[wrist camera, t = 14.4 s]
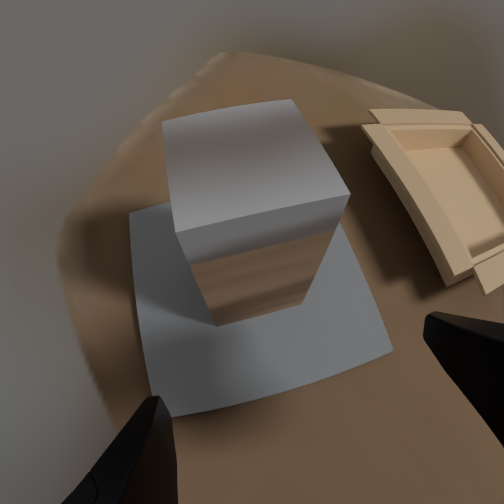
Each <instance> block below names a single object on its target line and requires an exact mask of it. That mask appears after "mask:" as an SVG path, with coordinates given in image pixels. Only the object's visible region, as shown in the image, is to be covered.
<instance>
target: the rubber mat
mask: <svg viewBox="0 0 504 504" xmlns="http://www.w3.org/2000/svg"><path fill="white" fill-rule="evenodd" d="M129 226H130V244H131V257H132V269H133V279H134V289H135V298H136V306H137V313H138V321H139V327H140V334H141V340H142V346H143V352H144V358H145V363H146V368H147V374H148V379H149V383H150V388H151V393H152V396H156V395H159V396H161V398H162V399H163V401H164V403H165V405H166V407H167V409H168V411H169V412H170V415H171V417H176V416H182V415H188V414H194V413H199V412H204V411H209V410H214V409H219V408H223V407H228V406H232V405H236V404H240V403H244V402H248V401H252V400H256V399H260V398H264V397H267V396H271V395H274V394H278V393H281V392H285V391H288V390H291V389H294V388H298V387H301V386H304V385H307V384H310V383H313V382H316V381H319V380H322V379H324V378H327V377H330V376H333V375H336V374H338V373H341V372H344V371H346V370H349V369H351V368H354V367H357V366H359V365H361V364H364V363H366V362H369V361H371V360H374V359H376V358H378V357H381V356H383V355H385V354H387V353H390V352H392V351H394V350H393V347H392V344H391V342H390V339H389V336H388V334H387V331H386V328H385V326H384V323H383V320H382V318H381V315H380V313H379V310H378V308H377V305H376V303H375V300H374V298H373V296H372V293H371V291H370V288H369V286H368V284H367V281H366V279H365V277H364V274H363V272H362V270H361V267H360V265H359V263H358V261H357V258H356V256H355V254H354V252H353V250H352V247H351V245H350V243H349V241H348V239H347V237H346V235H345V233H344V230H343V228H342V226H341V224H340V222H339V223H338V226H337V228H336V230H335V233H334V235H333V237H332V240H331V242H330V244H329V246H328V249H327V251H326V253H325V255H324V258H323V260H322V262H321V264H320V266H319V268H318V271H317V273H316V275H315V277H314V279H313V281H312V284H311V286H310V288H309V290H308V292H307V294H306V296H305V298H304V300H303V302H302V304H301V305H297V306H294V307H290V308H287V309H283V310H280V311H276V312H272V313H269V314H265V315H261V316H257V317H254V318H250V319H246V320H242V321H238V322H234V323H230V324H226V325H222V326H218V327H217V326H216V323H215V321H214V319H213V317H212V315H211V313H210V311H209V308H208V306H207V304H206V302H205V300H204V298H203V295H202V293H201V291H200V289H199V286H198V284H197V282H196V280H195V277H194V275H193V273H192V271H191V268H190V266H189V264H188V261H187V259H186V257H185V254H184V252H183V250H182V247H181V245H180V243H179V240H178V238H177V235H176V233H175V227H174V220H173V214H172V207H171V202H168V203H164V204H160V205H156V206H152V207H149V208H145V209H141V210H138V211H134V212H130V213H129Z"/></svg>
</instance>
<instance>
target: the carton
mask: <svg viewBox="0 0 504 504" xmlns="http://www.w3.org/2000/svg"><path fill="white" fill-rule="evenodd" d="M368 112H369V114H370V115H371V116H372V117H373V118H374V119H375V121H376V122H377V123H378V124H366V125H361V127H360V128H361V129H362V130H363V132H364V133H365V134H366V136H367V137H368V138H369V140H370V141H371V142H372V144H373V147H372V150H371V152H370V154H371V155H372V157H373V158H374V160H375V161H376V163H377V164H378V166H379V167H380V169H381V170H382V172H383V173H384V175H385V176H386V178H387V179H388V181H389V182H390V184H391V185H392V187H393V189H394V190H395V192H396V193H397V195H398V197H399V198H400V200H401V202H402V203H403V205H404V207H405V208H406V210H407V212H408V214H409V215H410V217H411V219H412V221H413V222H414V224H415V226H416V228H417V230H418V231H419V233H420V235H421V237H422V239H423V241H424V243H425V244H426V246H427V248H428V250H429V252H430V254H431V256H432V258H433V260H434V262H435V264H436V266H437V268H438V271H439V273H440V275H441V277H442V279H443V281H444V283H445V286H446V288H447V287H449V286H451V285H453V284H455V283H457V282H459V281H462V280H464V279H466V278H468V277H470V276H472V275H474V276H475V278H476V281H477V283H478V285H479V287H480V290H481V292H482V294H483V296H485V295H486V294H488V293H490V292H491V291H493V290H494V289H496V288H497V287H499V286H501V285H502V284H504V150H503V149H502V148H501V147H500V145H499V144H498V143H497V142H496V140H495V139H494V138H493V137H492V136H491V134H490V133H489V132H488V131H487V130H486V129H485V128H484V126H483V125H481V124H472V123H471V122H470V121H469V119H468V118H467V117H466V116H465V115H464V114H463V113H462V112H457V111H444V110H424V109H369V111H368Z"/></svg>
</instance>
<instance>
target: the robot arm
mask: <svg viewBox="0 0 504 504" xmlns="http://www.w3.org/2000/svg"><path fill="white" fill-rule="evenodd" d="M423 338H424V341H425V342H426V344H427V345H428V347H429V348H430V349H431V351H432V352H433V354H434V355H435V357H436V358H437V360H438V361H439V363H440V364H441V366H442V367H443V369H444V370H445V371H446V373H447V374H448V375H449V376H450V378H451V379H452V380H453V381H454V383H455V384H456V385H457V386H458V388H459V389H460V390H461V391H462V393H463V394H464V395H465V396H466V398H467V399H468V400H469V401H470V403H471V404H472V405H473V407H474V408H475V409H476V410H477V412H478V413H479V414H480V416H481V417H482V418H483V420H484V421H485V422H486V424H487V425H488V426H489V428H490V429H491V430H492V432H493V433H494V434H495V436H496V437H497V439H498V440H499V441H500V443H501V444H502V446H503V447H504V324H503V323H497V322H492V321H486V320H480V319H475V318H469V317H464V316H458V315H453V314H448V313H442V312H437V311H435V312H432V313H430V314H428V315H427V316H426V317H425V322H424V330H423ZM61 504H178V490H177V459H176V451H175V443H174V436H173V427H172V419H171V415H170V412H169V411H168V409H167V407H166V405H165V403H164V401H163V399H162V398H161V396H159V395H156V396H149V397H147V398H146V399H145V400H144V401H143V403H142V404H141V405H140V406H139V408H138V409H137V410H136V412H135V413H134V414H133V416H132V417H131V418H130V419H129V421H128V422H127V423H126V425H125V426H124V427H123V429H122V430H121V431H120V432H119V434H118V435H117V436H116V438H115V439H114V440H113V441H112V443H111V444H110V445H109V447H108V448H107V449H106V450H105V452H104V453H103V454H102V456H101V457H100V458H99V459H98V461H97V462H96V463H95V465H94V466H93V467H92V469H91V470H90V472H88V473H87V475H86V476H85V477H84V479H83V480H82V481H81V482H80V484H79V485H78V486H77V487H76V488H75V489H74V491H73V492H72V493H71V494H70V495H69V496H68V497H67V498H66V499H65V500H64V501H63V502H62V503H61Z"/></svg>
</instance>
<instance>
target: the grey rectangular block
mask: <svg viewBox="0 0 504 504" xmlns="http://www.w3.org/2000/svg"><path fill="white" fill-rule="evenodd" d="M162 130H163V140H164V150H165V159H166V168H167V176H168V184H169V192H170V199H171V207H172V214H173V220H174V227H175V233H176V235H177V238H178V240H179V243H180V245H181V247H182V250H183V252H184V254H185V257H186V259H187V261H188V264H189V266H190V268H191V271H192V273H193V275H194V277H195V280H196V282H197V284H198V286H199V289H200V291H201V293H202V295H203V298H204V300H205V302H206V304H207V306H208V308H209V311H210V313H211V315H212V317H213V319H214V321H215V323H216V326H217V327H218V326H222V325H226V324H230V323H234V322H238V321H242V320H246V319H250V318H254V317H257V316H261V315H265V314H269V313H272V312H276V311H280V310H283V309H287V308H290V307H294V306H297V305H301V304H302V302H303V300H304V298H305V296H306V294H307V292H308V290H309V288H310V286H311V284H312V281H313V279H314V277H315V275H316V273H317V271H318V268H319V266H320V264H321V262H322V260H323V258H324V255H325V253H326V251H327V249H328V246H329V244H330V242H331V240H332V237H333V235H334V233H335V230H336V228H337V226H338V223H339V221H340V219H341V216H342V214H343V211H344V209H345V207H346V204H347V202H348V199H349V197H350V192H349V190H348V188H347V186H346V185H345V183H344V181H343V179H342V178H341V176H340V174H339V173H338V171H337V169H336V167H335V166H334V164H333V162H332V161H331V159H330V158H329V156H328V154H327V153H326V151H325V149H324V148H323V146H322V145H321V143H320V141H319V140H318V138H317V137H316V135H315V134H314V132H313V131H312V129H311V127H310V126H309V124H308V123H307V121H306V120H305V118H304V117H303V115H302V114H301V113H300V111H299V110H298V108H297V107H296V105H295V104H294V102H293V101H292V100H291V99H288V100H279V101H270V102H262V103H255V104H248V105H241V106H235V107H229V108H223V109H218V110H213V111H207V112H203V113H198V114H193V115H188V116H184V117H180V118H175V119H171V120H167V121H163V122H162Z"/></svg>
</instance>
